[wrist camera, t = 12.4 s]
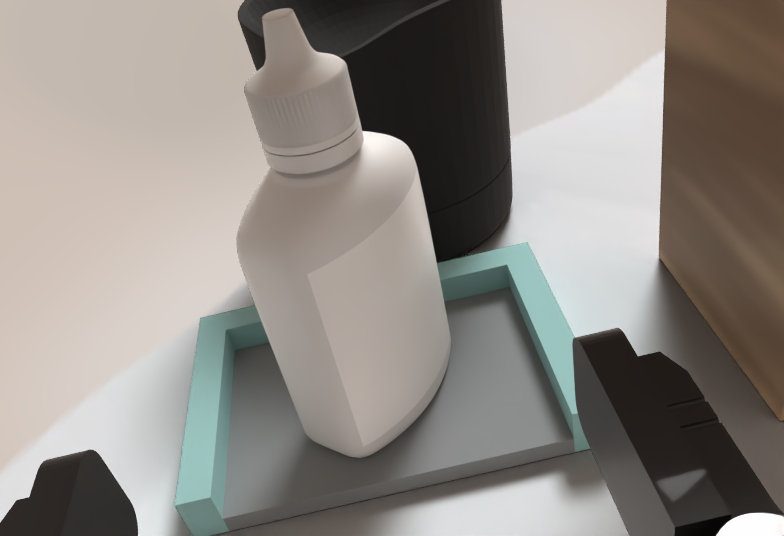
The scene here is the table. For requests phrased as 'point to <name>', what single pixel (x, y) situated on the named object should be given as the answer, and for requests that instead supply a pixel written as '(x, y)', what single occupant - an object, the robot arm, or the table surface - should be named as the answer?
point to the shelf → (728, 176)
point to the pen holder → (423, 96)
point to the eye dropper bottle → (339, 253)
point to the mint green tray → (419, 441)
